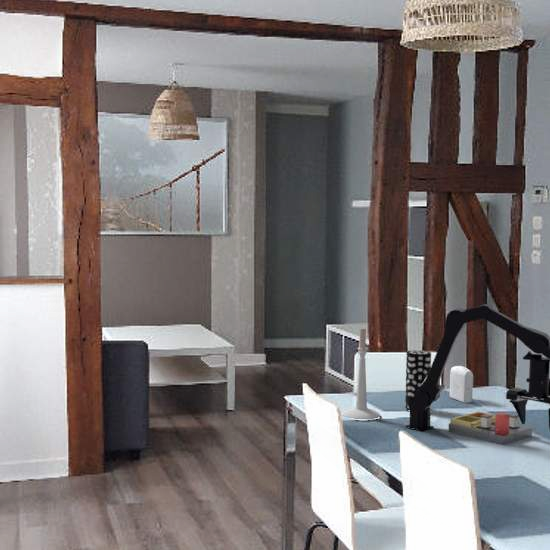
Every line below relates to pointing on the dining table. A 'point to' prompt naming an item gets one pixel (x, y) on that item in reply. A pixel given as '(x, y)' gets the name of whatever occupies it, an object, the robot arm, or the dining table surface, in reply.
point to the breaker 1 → (486, 420)
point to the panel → (486, 429)
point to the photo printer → (461, 384)
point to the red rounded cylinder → (502, 423)
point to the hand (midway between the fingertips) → (537, 427)
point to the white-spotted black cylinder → (416, 372)
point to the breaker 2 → (513, 420)
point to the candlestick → (361, 387)
